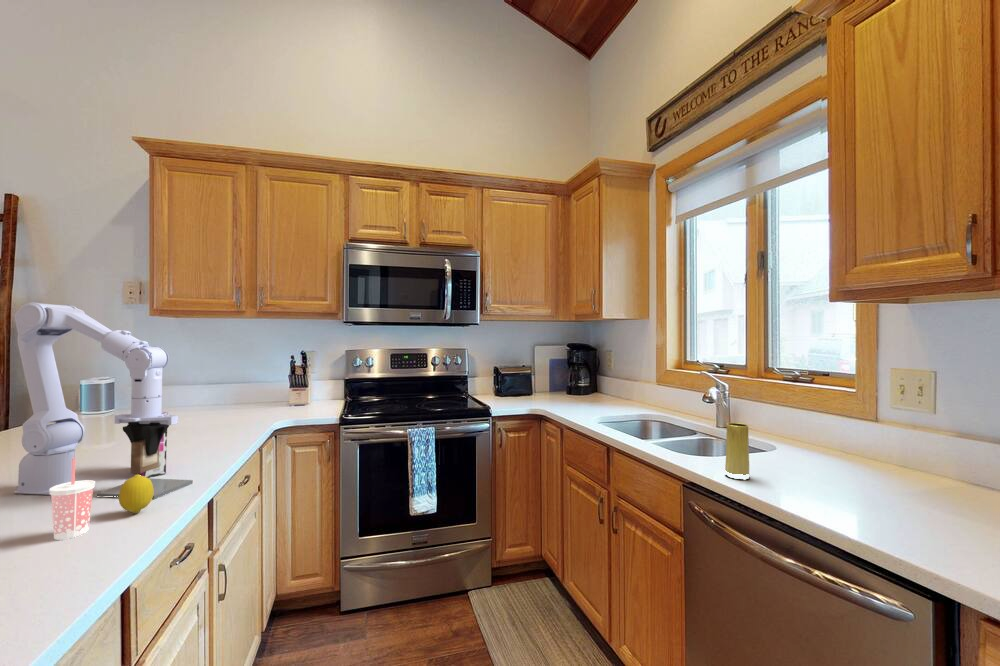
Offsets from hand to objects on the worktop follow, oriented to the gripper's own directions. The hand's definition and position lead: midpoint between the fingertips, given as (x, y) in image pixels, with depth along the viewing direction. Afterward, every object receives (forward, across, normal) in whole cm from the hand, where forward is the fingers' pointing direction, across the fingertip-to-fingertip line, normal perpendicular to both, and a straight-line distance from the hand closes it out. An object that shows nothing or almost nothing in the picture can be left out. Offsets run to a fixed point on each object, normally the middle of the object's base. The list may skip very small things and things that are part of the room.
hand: (145, 454), depth 104 cm
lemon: (+9, +10, -13) cm, 19 cm away
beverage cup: (+9, +8, -23) cm, 26 cm away
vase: (+9, +148, +27) cm, 150 cm away
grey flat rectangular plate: (+8, 0, 0) cm, 8 cm away
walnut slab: (+4, 0, 0) cm, 4 cm away
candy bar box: (+9, -11, +12) cm, 19 cm away
